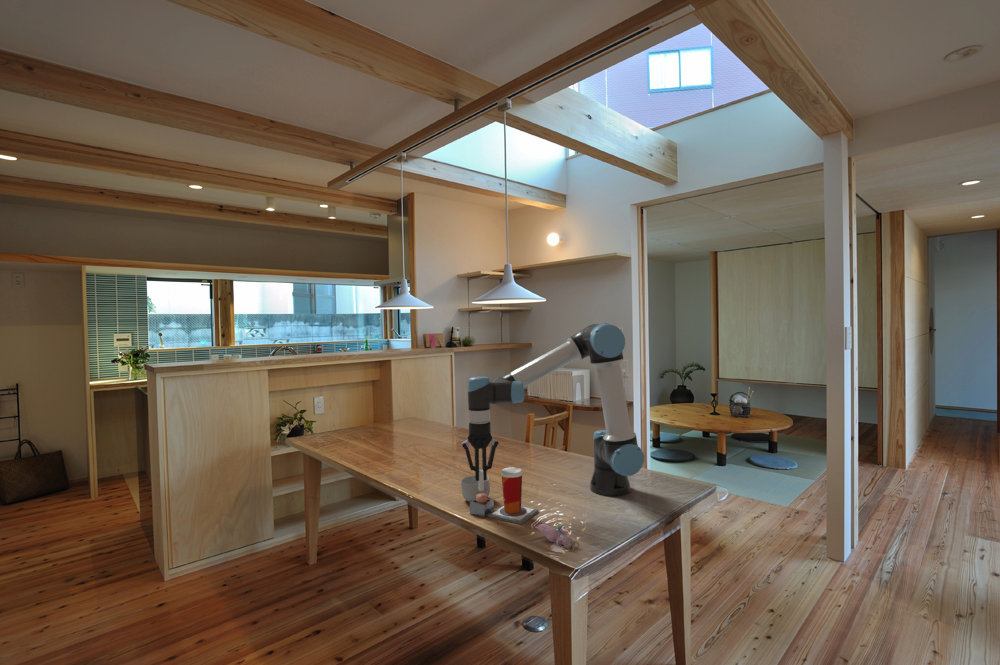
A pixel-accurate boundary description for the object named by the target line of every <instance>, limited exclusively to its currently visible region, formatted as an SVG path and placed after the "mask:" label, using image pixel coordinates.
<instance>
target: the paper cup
mask: <svg viewBox="0 0 1000 665" xmlns="http://www.w3.org/2000/svg"><path fill="white" fill-rule="evenodd" d="M522 470H523V469H522V468H519V467H513V466H509V467H505V468H503V469H501V472H500V476H501V482H502V483H501V485H502V486H501V487H502V496H503V498H502V500H503V505H504V510H505V512H506V513H508V514H517V513H520V512H521V506H522V495H523V493H522V492H523V491H522V489H523V475H524V473H523V471H522Z"/></svg>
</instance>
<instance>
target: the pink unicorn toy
mask: <svg viewBox="0 0 1000 665" xmlns="http://www.w3.org/2000/svg"><path fill="white" fill-rule="evenodd" d="M534 528H535V529H537V530H539V531H540V532H541V533H542V534H544V536H545V537H546V539H547V540H548V541H549V542H551V543H553V542H554V543H556V545H559V543H560V544H562V545H563V547H564V548H565V549H566V550H570V549H572V550H571V551H572V552H574V551H575V545H577V547H576V549H579V548H580V542H578V541H577V540H574V539H573V538H572V537H571V536H570V535H567V533H566V531H565V530H564V529H563V526H562V525H558V526H557V528H556V527H553V526H550V525H549V524H546V523H541V524H537V526H535V527H534ZM561 535H562V536H561Z"/></svg>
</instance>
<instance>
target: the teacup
mask: <svg viewBox="0 0 1000 665" xmlns="http://www.w3.org/2000/svg"><path fill="white" fill-rule="evenodd" d="M459 482H460V487H461V495H462V497H463V498H464V500H466V501H467V502H469V503H470V502H471V501H473V500H475V499H476V495H477V494H480V493H484V494H487V498H488V497H489V495H490V494H491V486H490V484H491V483H490V477H489V476H488V475H487V479H486V480H484V491H479V483H478V481H476V479H475V473H474V474H473V475H467V476H465V477H462V478H461V480H459Z"/></svg>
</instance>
